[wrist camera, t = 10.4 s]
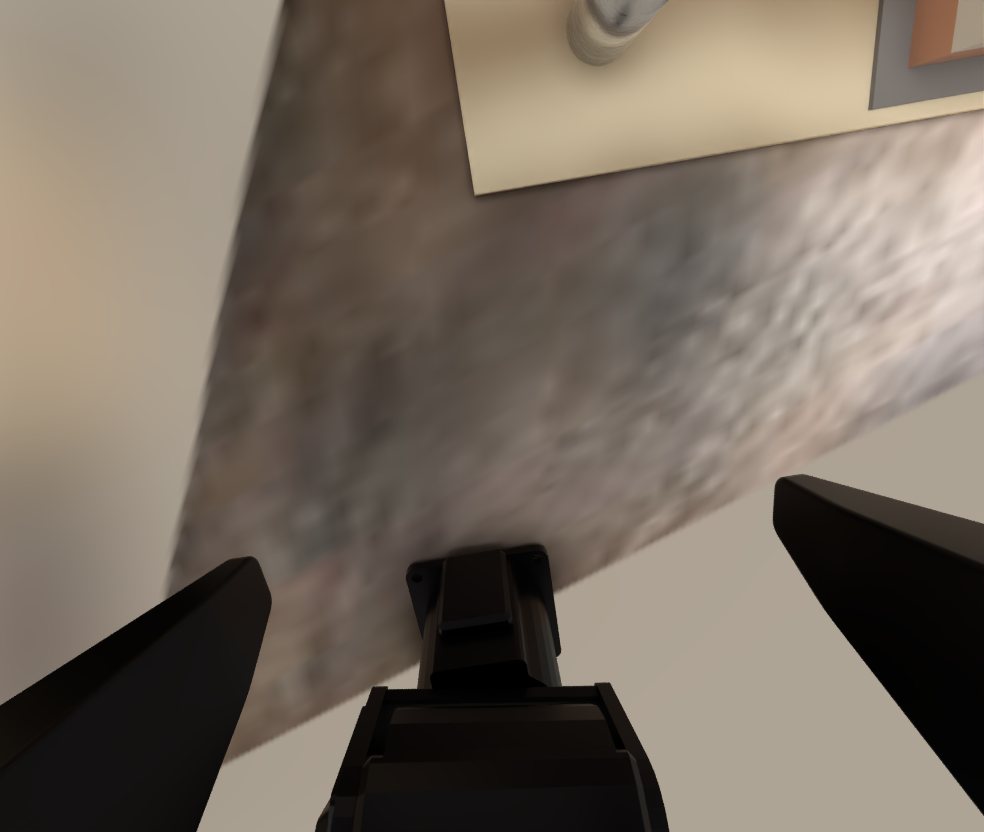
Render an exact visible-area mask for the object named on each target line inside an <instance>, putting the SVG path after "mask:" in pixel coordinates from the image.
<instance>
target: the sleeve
mask: <svg viewBox="0 0 984 832" xmlns="http://www.w3.org/2000/svg"><path fill="white" fill-rule="evenodd" d="M980 55H984V0H916V8H915V16H914V24H913V33H912V41H911V49H910V57H909V66H908V68H912V67H918V66H924V65H929V64H935V63H941V62H946V61H952V60H958V59H963V58H969V57H975V56H980Z"/></svg>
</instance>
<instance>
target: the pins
mask: <svg viewBox="0 0 984 832" xmlns="http://www.w3.org/2000/svg"><path fill="white" fill-rule="evenodd" d="M668 1H669V0H574V2H573V5H572V7H571V9H570V11H569V15H568V19H567V27H566V29H567V38H568V42H569V45H570V47H571V49H572V51H573V53H574V54H575V55H576V56H577V58H578V59H580V60H581V61H582V62H584V63H586V64H588V65H592V66H602V65H606V64H609V63H611V62H612V61H614V60H615V59H617V58H618V57H619V56H620V55H621V54H622V53H623V51H624V50H625V49H626V48H627V47H628V46H629V45H630V44H631V42H632V41H633V40H634V39H635V38H636V37H637V36H638V34H639V33H640V32H641V31H642V30H643V29H644V28H645V27H646V25H647V24H648V23H649V22H650V21H651V20H652V19H653V18H654V16H655V15H656V14H657V13H658V12H659V11H660V10H661V8H662V7H663V6H664V5H665V4H666V3H667V2H668Z"/></svg>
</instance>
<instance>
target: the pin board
mask: <svg viewBox="0 0 984 832" xmlns="http://www.w3.org/2000/svg"><path fill="white" fill-rule="evenodd" d="M573 2H574V0H444V3H445V10H446V16H447V22H448V29H449V35H450V42H451V48H452V54H453V61H454V67H455V74H456V80H457V86H458V93H459V99H460V106H461V112H462V118H463V125H464V131H465V138H466V144H467V150H468V157H469V163H470V170H471V176H472V182H473V189H474V195H475V196H479V195H485V194H490V193H496V192H502V191H508V190H514V189H520V188H526V187H531V186H537V185H543V184H549V183H555V182H561V181H567V180H573V179H578V178H584V177H590V176H596V175H602V174H608V173H614V172H619V171H625V170H631V169H637V168H643V167H649V166H655V165H660V164H666V163H672V162H678V161H684V160H690V159H696V158H701V157H707V156H713V155H719V154H725V153H731V152H737V151H742V150H748V149H754V148H760V147H766V146H772V145H778V144H783V143H789V142H795V141H801V140H807V139H813V138H819V137H825V136H830V135H836V134H842V133H848V132H854V131H860V130H866V129H871V128H877V127H883V126H889V125H895V124H901V123H907V122H912V121H918V120H924V119H930V118H936V117H942V116H948V115H953V114H959V113H965V112H971V111H977V110H983V109H984V55H980V56H975V57H969V58H963V59H958V60H952V61H946V62H941V63H935V64H929V65H924V66H918V67H912V68H908V66H909V57H910V49H911V41H912V33H913V24H914V16H915V8H916V0H669V1H668V2H667V3H666V4H665V5H664V6H663V7H662V8H661V10H660V11H659V12H658V13H657V14H656V15H655V16H654V18H653V19H652V20H651V21H650V22H649V23H648V24H647V25H646V27H645V28H644V29H643V30H642V31H641V32H640V33H639V34H638V36H637V37H636V38H635V39H634V40H633V41H632V42H631V44H630V45H629V46H628V47H627V48H626V49H625V50H624V51H623V53H622V54H621V55H620V56H619V57H618V58H617V59H615V60H614V61H612V62H611V63H609V64H606V65H602V66H592V65H588V64H586V63H584V62H582V61H581V60H580V59H578V58H577V56H576V55H575V54H574V53H573V51H572V49H571V47H570V45H569V42H568V38H567V29H566V27H567V19H568V15H569V11H570V9H571V7H572V5H573Z"/></svg>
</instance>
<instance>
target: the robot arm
mask: <svg viewBox="0 0 984 832" xmlns="http://www.w3.org/2000/svg"><path fill="white" fill-rule="evenodd" d="M773 525H774V528H775V531H776V533H777V535H778V537H779V538H780V540H781V542H782V543H783V545H784V547H785V548H786V550H787V551H788V553H789V554H790V556H791V558H792V559H793V561H794V563H795V564H796V566H797V567H798V569H799V571H800V572H801V574H802V575H803V577H804V579H805V580H806V582H807V583H808V585H809V587H810V588H811V590H812V591H813V593H814V595H815V596H816V598H817V599H818V601H819V602H820V604H821V605H822V607H823V608H824V610H825V611H826V612H827V614H828V615H829V616H830V618H831V619H832V621H833V622H834V623H835V624H836V626H837V627H838V628H839V630H840V631H841V632H842V634H843V635H844V636H845V638H846V639H847V640H848V641H849V643H850V644H851V645H852V646H853V648H854V649H855V650H856V652H857V653H858V654H859V655H860V657H861V658H862V659H863V661H864V662H865V663H866V665H867V666H868V667H869V668H870V670H871V671H872V672H873V674H874V675H875V676H876V677H877V679H878V680H879V681H880V683H881V684H882V685H883V687H884V688H885V689H886V690H887V692H888V693H889V694H890V696H891V697H892V698H893V699H894V701H895V702H896V703H897V705H898V706H899V707H900V708H901V710H902V711H903V712H904V714H905V715H906V716H907V717H908V719H909V720H910V721H911V723H912V724H913V725H914V727H915V728H916V729H917V730H918V731H919V733H920V734H921V736H922V737H923V738H924V739H925V740H926V742H927V743H928V745H929V746H930V747H931V748H932V750H933V751H934V752H935V754H936V755H937V756H938V757H939V759H940V760H941V761H942V763H943V764H944V765H945V767H946V768H947V769H948V770H949V772H950V773H951V774H952V775H953V777H954V778H955V779H956V780H957V782H958V783H959V785H960V786H961V787H962V788H963V790H964V791H965V792H966V793H967V795H968V796H969V797H970V799H971V800H972V801H973V802H974V804H975V805H976V806H977V808H978V809H979V810H980V812H981V813H982V814H983V816H984V524H982V523H979V522H975V521H972V520H968V519H965V518H961V517H957V516H954V515H950V514H946V513H942V512H939V511H936V510H932V509H928V508H925V507H921V506H918V505H914V504H910V503H906V502H903V501H899V500H896V499H892V498H889V497H885V496H881V495H877V494H874V493H870V492H866V491H863V490H859V489H856V488H852V487H849V486H845V485H841V484H838V483H834V482H831V481H827V480H823V479H820V478H816V477H813V476H809V475H805V474H799V475H792V476H786V477H781V478H779V479H778V480H777V481H776V484H775V490H774V506H773ZM535 555H540V556H541V557H540V558H537V559H534V558H532V557H533V556H535ZM413 574H420V575H422V576H420V577H416V576H414V575H413ZM406 581H407V585H408V588H409V592H410V596H411V599H412V603H413V607H414V610H415V614H416V618H417V621H418V625H419V629H420V632H421V636H422V640H423V643H422V652H421V661H420V669H419V678H418V687H417V689H388V687H387V686H379V687H372V689H371V692H370V695H369V698H368V701H367V703H366V706H363V707H362V709H361V712H360V715H359V718H358V721H357V723H356V726H355V729H354V731H353V734H352V737H351V740H350V743H349V745H348V748H347V751H346V754H345V757H344V759H343V762H342V765H341V768H340V770H339V773H338V776H337V779H336V782H335V785H334V787H333V790H332V793H331V798H330V800H329V801H328V803H327V805H326V807H325V808H324V810H323V812H322V814H321V815H320V817H319V819H318V821H317V825H316V829H315V832H669V828H668V822H667V817H666V812H665V807H664V803H663V799H662V795H661V791H660V788H659V785H658V782H657V778H656V775H655V773H654V770H653V768H652V765H651V763H650V761H649V759H648V757H647V755H646V753H645V751H644V749H643V747H642V745H641V743H640V741H639V739H638V737H637V735H636V733H635V731H634V729H633V727H632V725H631V723H630V721H629V719H628V717H627V715H626V713H625V711H624V710H623V707H622V705H621V704H620V702H619V699H618V698H617V696H616V694H615V692H614V690H613V688H612V686H611V684H610V683H595V684H594V686H562V684H561V679H560V674H559V669H558V663H557V658H556V657H557V656H559V655H560V653H561V646H560V638H559V632H558V624H557V617H556V610H555V603H554V596H553V589H552V581H551V574H550V567H549V560H548V555H547V551H546V549H545V548H544V547H543V546H540V545H532V546H526V547H519V548H513V549H506V550H496V551H489V552H483V553H476V554H470V555H463V556H457V557H451V558H447V559H442V560H435V561H429V562H422V563H416V564H413V565H411V566H410V567H409V568H408V570H407V574H406ZM271 604H272V598H271V593H270V590H269V588H268V585H267V582H266V580H265V577H264V575H263V572H262V569H261V567H260V564H259V562H258V561H257V559H256V558H254V557H252V556H248V557H241V558H234V559H230V560H227V561H226V562H224V563H222V564H221V565H219V566H218V567H216V568H215V569H213V570H212V571H210V572H208V573H207V574H205V575H204V576H202V577H201V578H199V579H197V580H196V581H194V582H193V583H191V584H190V585H188V586H186V587H185V588H183V589H182V590H180V591H179V592H177V593H175V594H174V595H172V596H171V597H169V598H168V599H166V600H165V601H163V602H161V603H160V604H158V605H157V606H155V607H154V608H152V609H150V610H149V611H147V612H146V613H144V614H143V615H141V616H140V617H138V618H136V619H135V620H133V621H132V622H130V623H128V624H127V625H125V626H124V627H122V628H121V629H119V630H118V631H116V632H114V633H113V634H111V635H110V636H108V637H107V638H105V639H103V640H102V641H100V642H99V643H97V644H96V645H94V646H93V647H91V648H89V649H88V650H86V651H85V652H83V653H82V654H80V655H78V656H77V657H75V658H74V659H72V660H71V661H69V662H68V663H66V664H64V665H63V666H61V667H60V668H58V669H56V670H55V671H53V672H52V673H50V674H49V675H47V676H45V677H44V678H42V679H41V680H39V681H38V682H36V683H35V684H33V685H32V686H30V687H28V688H27V689H25V690H24V691H22V692H21V693H19V694H17V695H16V696H14V697H13V698H11V699H9V700H8V701H6V702H5V703H3V704H2V705H0V832H196V831H197V828H198V826H199V823H200V821H201V818H202V816H203V813H204V810H205V807H206V805H207V802H208V800H209V797H210V794H211V791H212V789H213V786H214V784H215V781H216V778H217V776H218V773H219V770H220V768H221V765H222V762H223V760H224V757H225V754H226V752H227V749H228V746H229V744H230V741H231V738H232V736H233V733H234V730H235V728H236V725H237V722H238V720H239V717H240V714H241V712H242V709H243V706H244V703H245V701H246V698H247V695H248V692H249V689H250V685H251V682H252V678H253V675H254V671H255V667H256V663H257V660H258V656H259V652H260V648H261V644H262V641H263V637H264V633H265V629H266V626H267V622H268V618H269V614H270V610H271Z"/></svg>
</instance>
